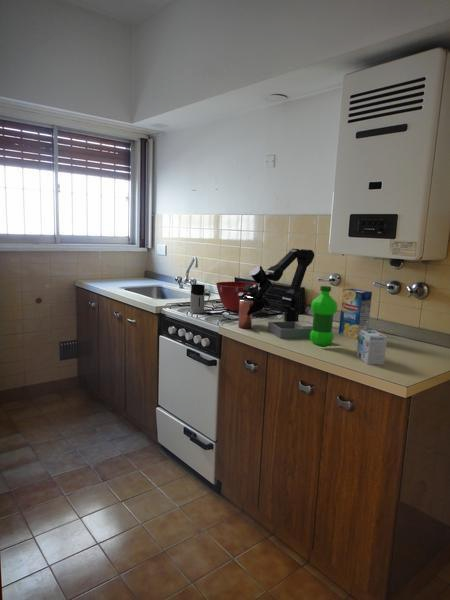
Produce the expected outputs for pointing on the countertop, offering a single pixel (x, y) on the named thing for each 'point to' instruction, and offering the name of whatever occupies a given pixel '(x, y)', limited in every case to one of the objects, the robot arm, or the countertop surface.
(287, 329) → the tote
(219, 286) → the mixing bowl
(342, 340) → the countertop surface
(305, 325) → the egg carton
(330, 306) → the plastic bottle
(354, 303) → the blue food box
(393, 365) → the countertop surface
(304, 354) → the countertop surface
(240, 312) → the tin can
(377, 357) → the light bulb box
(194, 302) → the grey handled cylinder
